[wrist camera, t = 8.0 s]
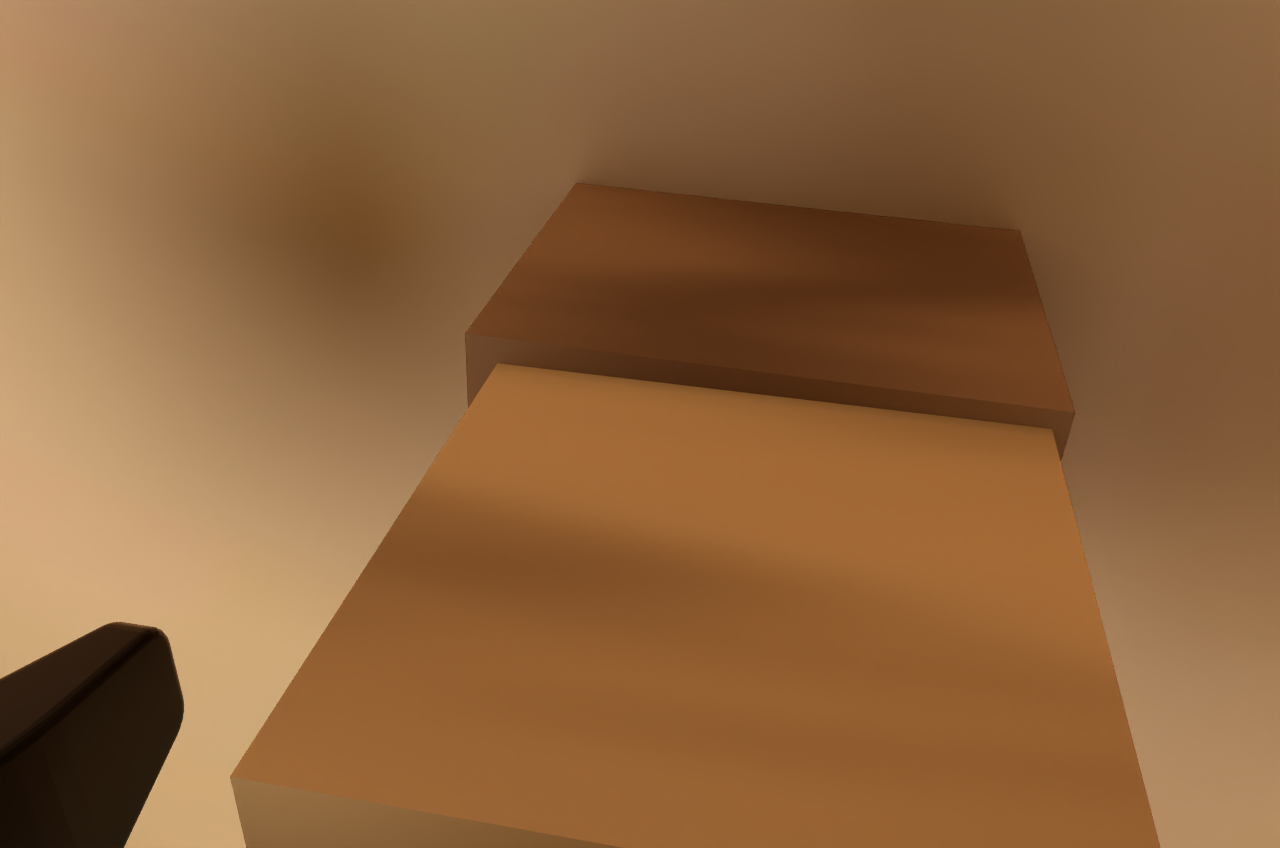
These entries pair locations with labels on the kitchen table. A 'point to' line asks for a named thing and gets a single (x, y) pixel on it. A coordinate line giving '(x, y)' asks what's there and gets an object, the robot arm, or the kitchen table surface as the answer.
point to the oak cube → (710, 640)
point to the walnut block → (780, 307)
